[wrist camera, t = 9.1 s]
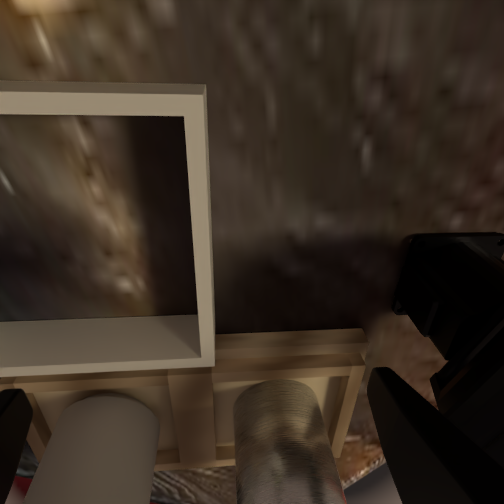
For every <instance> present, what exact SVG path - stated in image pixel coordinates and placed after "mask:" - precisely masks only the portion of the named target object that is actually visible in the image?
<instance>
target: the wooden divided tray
mask: <svg viewBox="0 0 504 504" xmlns="http://www.w3.org/2000/svg"><path fill="white" fill-rule="evenodd" d="M368 345H369V341H368V339H367V337H366V335H365V333H364V331H363V329H362V328H356V329H333V330H309V331H285V332H262V333H238V334H215V366H212V367H192V368H172V369H152V370H132V371H113V372H93V373H73V374H53V375H33V376H13V377H1V379H0V391H2V390H5V389H14V388H21V389H23V390H24V391H25V393H26V395H27V397H28V399H29V401H30V403H31V405H32V408H33V418H32V421H31V425H30V428H29V431H28V435H27V438H26V440H27V441H28V443H29V445H30V447H31V449H32V451H33V453H34V454H35V456H36V458H37V460H38V462H39V464H40V461H41V459H42V457H43V454H44V452H45V449H46V447H47V445H48V442H49V440H50V438H51V435H52V433H53V430H54V428H55V426H56V423H57V421H58V419H59V417H60V415H61V414H62V412H63V411H64V409H66V408H67V407H69V406H70V405H72V404H73V403H75V402H78V401H81V400H84V399H85V398H87V397H90V396H93V395H96V394H104V393H116V394H124V395H127V396H130V397H133V398H136V399H138V400H139V401H141V402H142V403H144V404H145V405H146V406H147V407H148V408H149V409H150V410H151V411H152V412H153V413H154V414H155V416H156V417H157V418H158V420H159V424H160V435H159V441H158V448H157V455H156V462H155V468H154V471H164V470H177V469H191V468H204V467H217V466H231V465H235V448H234V423H233V406H234V403H235V401H236V399H237V398H238V397H239V395H240V394H241V393H242V392H244V391H245V390H246V389H248V388H250V387H251V386H253V385H255V384H258V383H261V382H264V381H269V380H276V379H288V380H295V381H298V382H301V383H304V384H306V385H307V386H309V387H310V388H311V389H312V390H313V391H314V392H315V394H316V396H317V399H318V403H319V406H320V410H321V413H322V417H323V420H324V424H325V428H326V431H327V435H328V438H329V442H330V446H331V449H332V453H333V456H334V458H338V457H340V455H341V451H342V448H343V444H344V441H345V437H346V434H347V430H348V427H349V423H350V419H351V416H352V412H353V409H354V405H355V402H356V398H357V395H358V391H359V388H360V384H361V381H362V377H363V374H364V370H365V367H366V365H365V362H364V359H365V356H366V352H367V349H368Z"/></svg>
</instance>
